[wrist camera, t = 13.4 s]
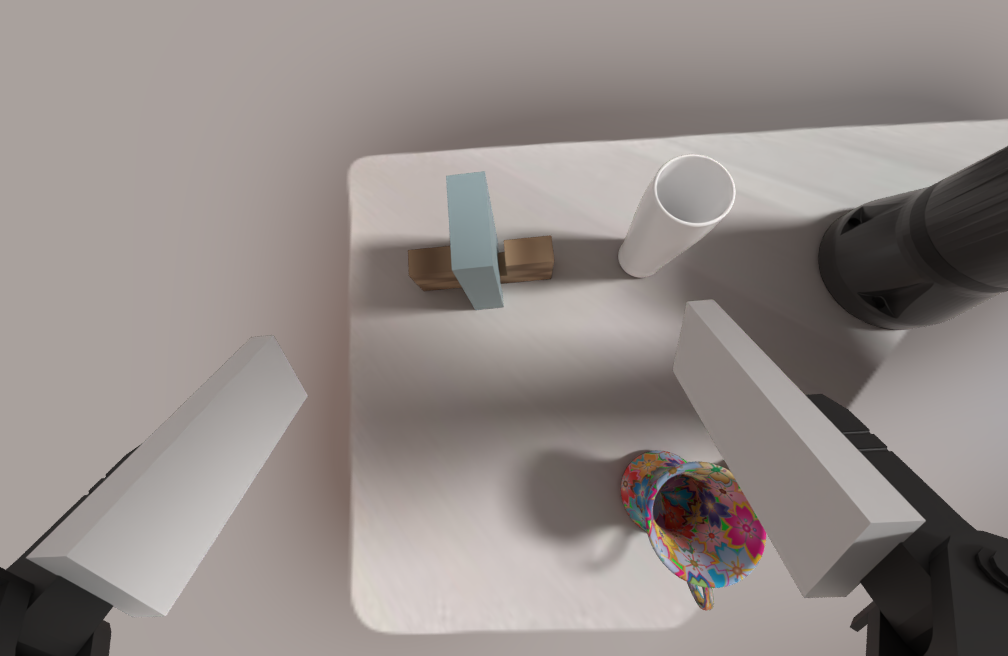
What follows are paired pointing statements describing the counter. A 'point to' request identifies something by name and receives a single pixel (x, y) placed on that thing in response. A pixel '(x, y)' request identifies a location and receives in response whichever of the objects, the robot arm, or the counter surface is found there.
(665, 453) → the mug
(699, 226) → the drinking glass
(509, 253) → the wooden u-shaped block
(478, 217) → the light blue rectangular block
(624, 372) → the counter surface
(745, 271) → the counter surface
